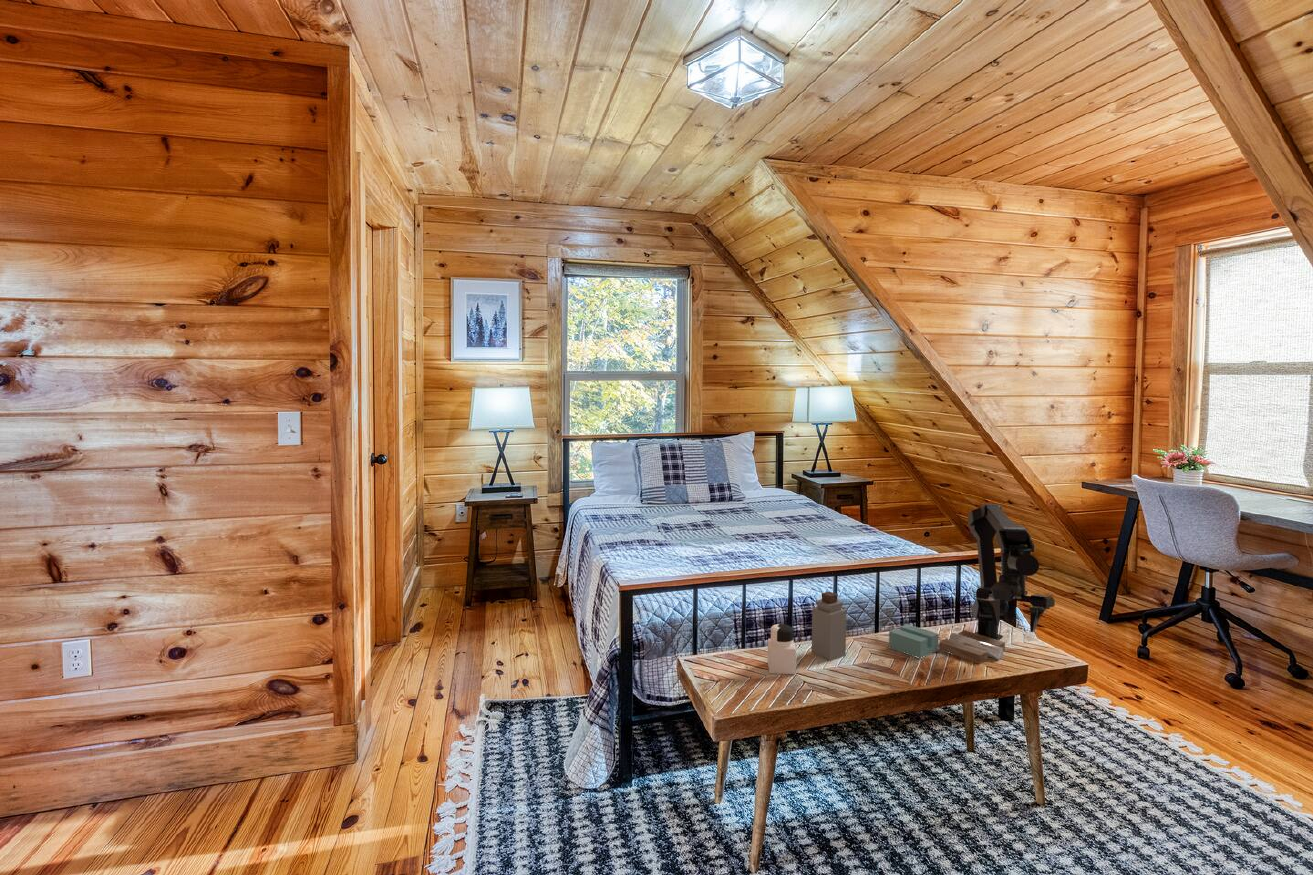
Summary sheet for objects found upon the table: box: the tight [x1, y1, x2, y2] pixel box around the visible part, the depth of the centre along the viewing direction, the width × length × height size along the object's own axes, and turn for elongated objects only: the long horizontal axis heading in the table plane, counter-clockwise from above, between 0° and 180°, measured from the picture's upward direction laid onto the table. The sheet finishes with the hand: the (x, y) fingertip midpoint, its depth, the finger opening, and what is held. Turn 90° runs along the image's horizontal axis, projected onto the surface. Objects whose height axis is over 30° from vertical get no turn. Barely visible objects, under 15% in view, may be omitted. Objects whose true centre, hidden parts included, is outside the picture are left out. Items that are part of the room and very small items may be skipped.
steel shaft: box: [949, 632, 1004, 661], centre depth 186 cm, size 14×4×4 cm, turn 38°
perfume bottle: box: [811, 591, 847, 662], centre depth 183 cm, size 7×7×18 cm
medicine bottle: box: [767, 623, 797, 675], centre depth 174 cm, size 7×7×12 cm
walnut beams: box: [938, 629, 1006, 665], centre depth 187 cm, size 15×12×2 cm
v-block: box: [888, 623, 939, 659], centre depth 187 cm, size 10×10×5 cm
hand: (1014, 628), depth 175 cm, fingers open, 9 cm apart
